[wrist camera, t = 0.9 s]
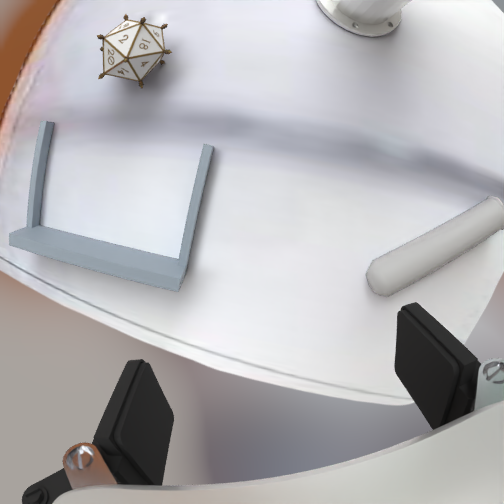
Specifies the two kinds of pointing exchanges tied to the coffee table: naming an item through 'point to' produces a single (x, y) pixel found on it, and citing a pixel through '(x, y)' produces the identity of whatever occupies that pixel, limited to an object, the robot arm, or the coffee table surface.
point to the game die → (132, 50)
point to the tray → (99, 252)
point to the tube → (435, 248)
